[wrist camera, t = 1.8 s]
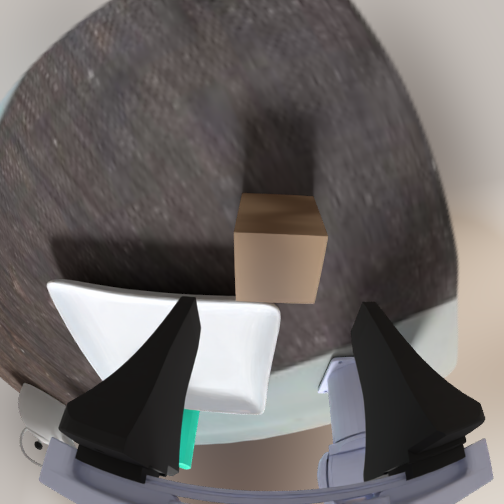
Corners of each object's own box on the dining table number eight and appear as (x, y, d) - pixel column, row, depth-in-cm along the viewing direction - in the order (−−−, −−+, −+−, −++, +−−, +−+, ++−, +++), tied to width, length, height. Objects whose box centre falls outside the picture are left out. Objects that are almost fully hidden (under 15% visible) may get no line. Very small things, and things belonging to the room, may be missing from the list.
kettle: (64, 399, 47) (40, 471, 29) (103, 431, 60) (88, 490, 42) (11, 374, 49) (-13, 431, 30) (49, 409, 62) (32, 459, 43)
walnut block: (313, 195, 17) (328, 236, 13) (305, 254, 19) (314, 303, 15) (242, 192, 17) (233, 232, 13) (242, 251, 20) (235, 301, 15)
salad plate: (282, 275, 21) (283, 307, 18) (264, 395, 33) (263, 418, 30) (58, 259, 22) (39, 281, 19) (119, 375, 34) (112, 394, 31)
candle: (156, 394, 35) (139, 464, 25) (194, 397, 34) (180, 473, 24) (170, 409, 38) (157, 472, 28) (204, 413, 37) (195, 479, 28)
